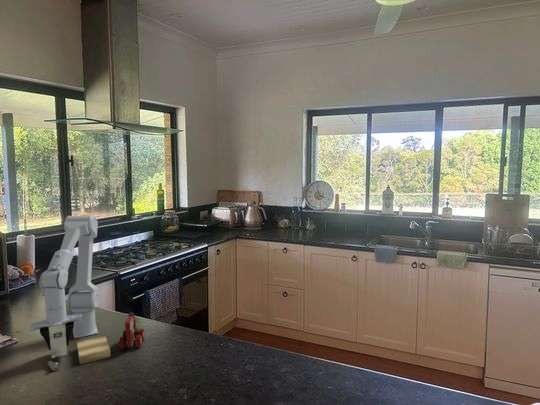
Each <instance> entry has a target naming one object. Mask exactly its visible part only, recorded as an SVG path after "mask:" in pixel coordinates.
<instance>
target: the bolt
mask: <svg viewBox="0 0 540 405" xmlns="http://www.w3.org/2000/svg"><path fill="white" fill-rule="evenodd" d="M46 365H47V367H48V368H50V371H52V372H56V371H57V372H58V370H60V368H61V365H60V363H59V362H54V361H52V360H48V362H47V363H46Z"/></svg>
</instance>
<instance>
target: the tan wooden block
mask: <svg viewBox="0 0 540 405" xmlns="http://www.w3.org/2000/svg"><path fill="white" fill-rule="evenodd" d="M76 347H77V348H76V349H77V354H78V355H77V356H78V360H79V365H83V364H87V363H91V362H95V361H99V360H103V359H107V358H111V348H110V345H109V342H108V338H107V336H106V335H102V336H98V337H92V338H87V339H85V340H78V341H76Z"/></svg>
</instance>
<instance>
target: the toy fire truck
mask: <svg viewBox="0 0 540 405" xmlns="http://www.w3.org/2000/svg"><path fill="white" fill-rule="evenodd" d="M124 329H125V330H123V331H122V336H120V337H119V343H118V344H119V345H118V348H119V349H120V350H124V349H125V348H126V346H127V347H128V348H129V347H133V345H134V344H135V347H136V348H141V347H142V342H143V341H144V340H145V329H144V328H138V324H137V320H136V316H135V313H134V312H129V313H128V314H127V319H126V320H125V323H124Z"/></svg>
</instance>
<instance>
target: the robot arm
mask: <svg viewBox="0 0 540 405" xmlns="http://www.w3.org/2000/svg"><path fill="white" fill-rule="evenodd" d="M98 224H99V223H98V220H97V217H96V216H95V215H67V216H66V218H65V219H64V222H63V227H64V232H65V234H64V236H63V240H62V243H61V246H60V249H59V250H57V251H55V252H54V254H53V255H52V258H51V260H50V263H49V265H48V267H47V270H45V271H43V272H42V273H41V274H40V277H39V281H38V285H39V287H40V289H41V293H42V295H44V306H45V307H44V308H45V317H46V318H45V319H44V320H39V321H36V322H32V323H30V327H29V328H30V332H35V331H36V330H37V331H38V330H39V334H40V335H41V337H42V338H43V340H44V341H45V343H46V345H47V348H48V351H51V345H50V328H52V327H58V326H62V325H65V327H64V328H65V333H66V345H67V347H68V346H69V345H70V339H71V335H72V333H73V338H74V339H78V338H84V337H87V336H92V335H97V334H98V333H99V331H98V328H97V324H96V323H97V322H96V311H95V309H97V307H98V306H99V303H100V294H99V287H98V286H96V285H95V284H93V283H92V271H93V270H92V269H93V252H94V239H95V238H97V237H98V228H99V227H98ZM77 242H78V248H77V250H78V251H77V267H76V278H75V279H76V280H75V284H73V286H71V287H70V288H69V290H68V295H67V298H66V292H65V291H66V290H65V287H66V286H67V283H68V279H69V278H68V277H69V276H68V275H69V268H70V265H71V263H72V261H73V257H74V256H73V254H72V252H73V250H74V248H75V247H76V244H77ZM67 308H68V309H69V310H70V311H71V313H73V314H70V315H67Z"/></svg>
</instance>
